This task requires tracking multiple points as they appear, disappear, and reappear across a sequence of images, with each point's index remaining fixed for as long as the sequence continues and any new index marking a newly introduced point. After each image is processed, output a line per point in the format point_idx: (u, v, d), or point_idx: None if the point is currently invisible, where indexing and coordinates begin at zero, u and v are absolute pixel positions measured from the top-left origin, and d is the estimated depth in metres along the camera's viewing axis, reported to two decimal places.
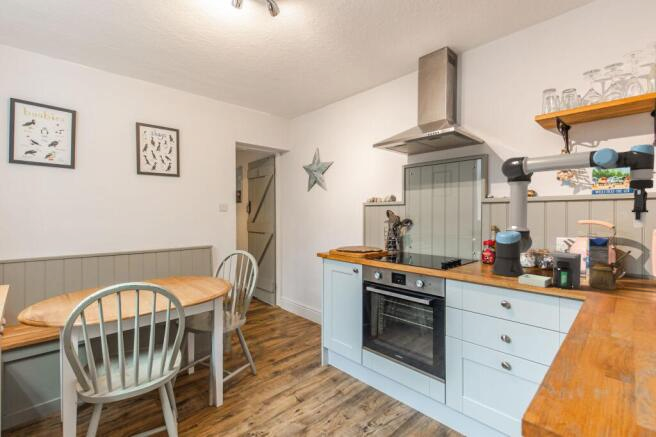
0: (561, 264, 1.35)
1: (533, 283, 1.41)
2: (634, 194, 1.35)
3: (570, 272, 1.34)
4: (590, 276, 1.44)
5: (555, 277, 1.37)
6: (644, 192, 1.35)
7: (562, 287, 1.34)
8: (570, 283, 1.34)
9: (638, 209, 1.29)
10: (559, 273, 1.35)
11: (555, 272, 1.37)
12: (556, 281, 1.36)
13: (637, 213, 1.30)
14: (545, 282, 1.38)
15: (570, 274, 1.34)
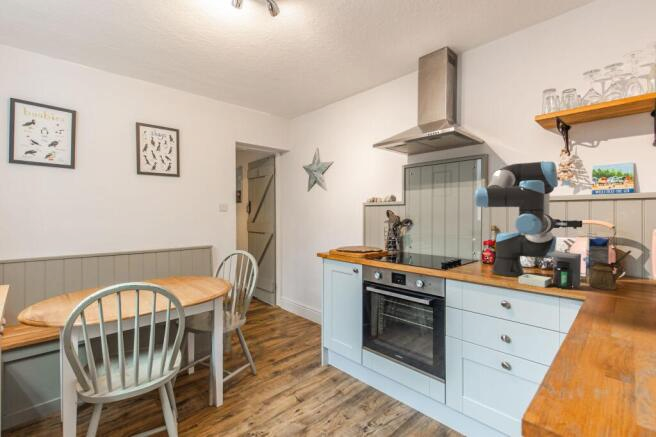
0: (561, 264, 1.35)
1: (533, 283, 1.41)
2: None
3: (570, 272, 1.34)
4: (590, 276, 1.44)
5: (555, 277, 1.37)
6: None
7: (562, 287, 1.34)
8: (570, 283, 1.34)
9: None
10: (559, 273, 1.35)
11: (555, 272, 1.37)
12: (556, 281, 1.36)
13: None
14: (545, 282, 1.38)
15: (570, 274, 1.34)
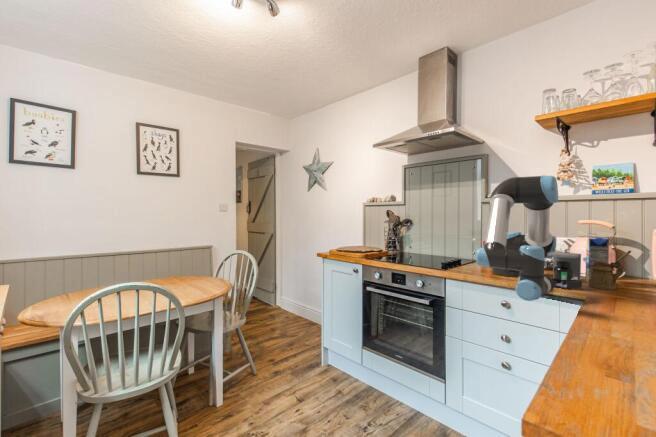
0: (561, 264, 1.35)
1: None
2: None
3: (570, 272, 1.34)
4: (590, 276, 1.44)
5: (555, 277, 1.37)
6: None
7: None
8: None
9: None
10: (559, 273, 1.35)
11: (555, 272, 1.37)
12: None
13: None
14: None
15: (570, 274, 1.34)
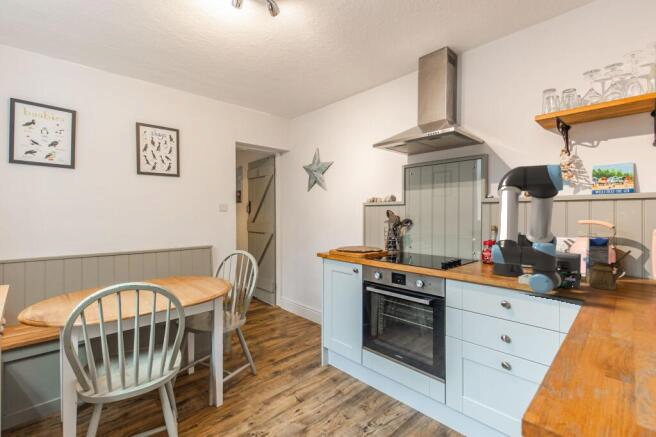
0: (561, 264, 1.35)
1: None
2: None
3: (570, 272, 1.34)
4: (590, 276, 1.44)
5: None
6: None
7: (562, 287, 1.34)
8: (570, 283, 1.34)
9: None
10: None
11: None
12: None
13: None
14: None
15: None
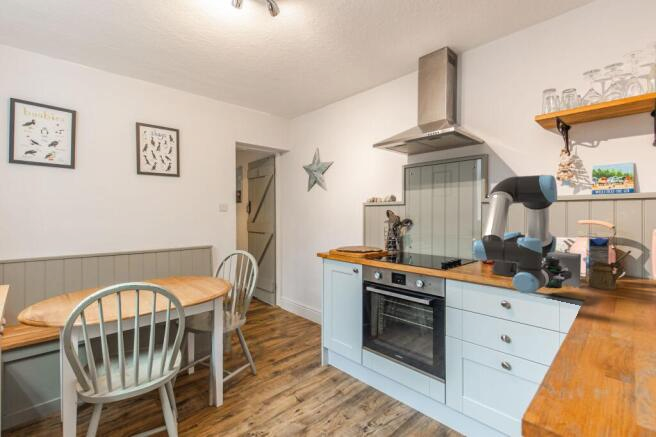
0: (550, 261, 1.25)
1: None
2: None
3: (560, 270, 1.23)
4: (590, 276, 1.44)
5: None
6: None
7: (551, 286, 1.24)
8: (560, 282, 1.23)
9: None
10: None
11: None
12: None
13: None
14: None
15: None
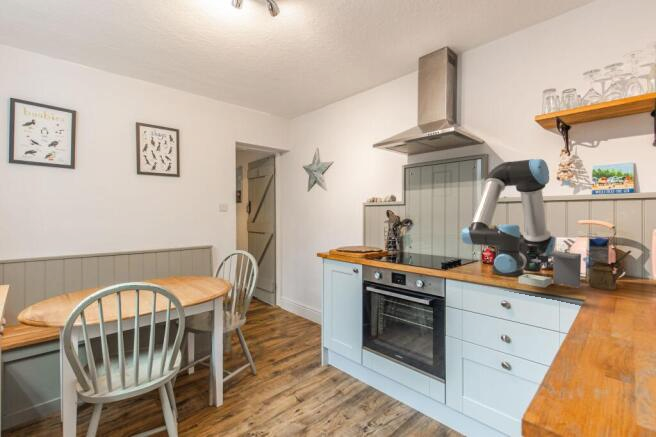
0: (530, 247, 1.39)
1: (533, 283, 1.41)
2: None
3: (538, 255, 1.37)
4: (590, 276, 1.44)
5: None
6: None
7: (530, 269, 1.38)
8: (538, 266, 1.37)
9: None
10: None
11: None
12: None
13: None
14: (545, 282, 1.38)
15: None
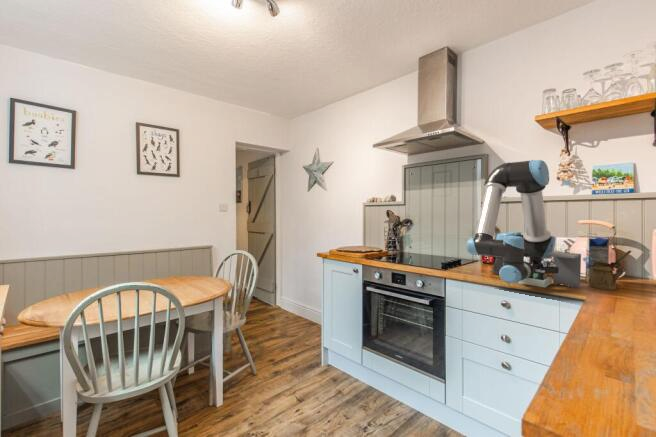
0: (533, 260, 1.43)
1: (533, 283, 1.41)
2: None
3: None
4: (590, 276, 1.44)
5: None
6: None
7: None
8: (541, 278, 1.41)
9: None
10: None
11: None
12: None
13: None
14: (545, 282, 1.38)
15: None
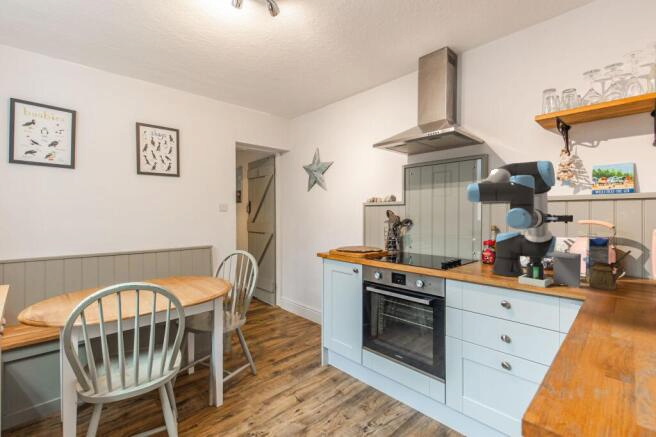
0: (533, 260, 1.43)
1: (533, 283, 1.41)
2: None
3: (541, 267, 1.41)
4: (590, 276, 1.44)
5: (527, 272, 1.44)
6: None
7: None
8: (541, 278, 1.41)
9: None
10: (531, 269, 1.43)
11: (528, 267, 1.44)
12: (529, 276, 1.44)
13: None
14: (545, 282, 1.38)
15: (541, 269, 1.41)
